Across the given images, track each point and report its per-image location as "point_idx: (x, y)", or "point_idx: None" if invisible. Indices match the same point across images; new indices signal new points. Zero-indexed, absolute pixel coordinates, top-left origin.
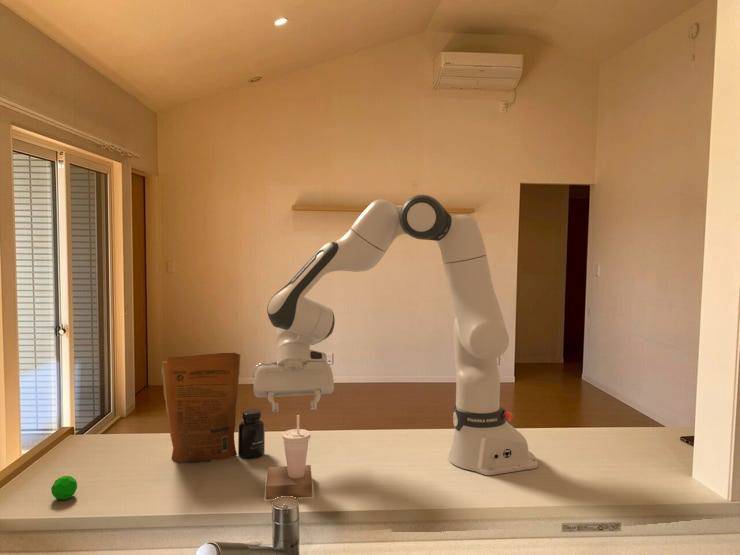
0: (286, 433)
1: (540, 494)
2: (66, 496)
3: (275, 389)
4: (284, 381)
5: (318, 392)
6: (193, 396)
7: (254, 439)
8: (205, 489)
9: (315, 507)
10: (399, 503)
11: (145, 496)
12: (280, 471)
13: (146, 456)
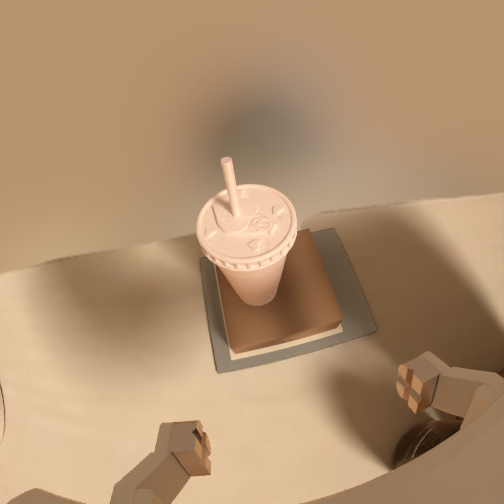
0: (282, 217)
1: None
2: None
3: (495, 406)
4: (481, 497)
5: (126, 493)
6: None
7: (434, 432)
8: (431, 273)
9: None
10: (83, 269)
11: (481, 239)
12: (302, 298)
13: None
